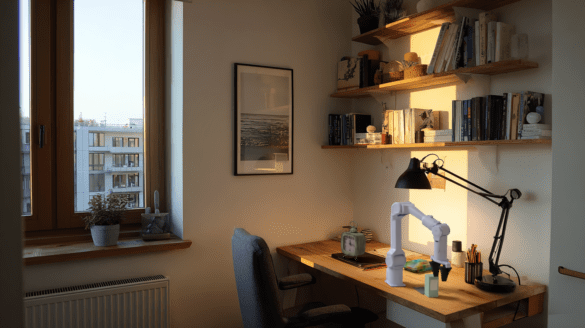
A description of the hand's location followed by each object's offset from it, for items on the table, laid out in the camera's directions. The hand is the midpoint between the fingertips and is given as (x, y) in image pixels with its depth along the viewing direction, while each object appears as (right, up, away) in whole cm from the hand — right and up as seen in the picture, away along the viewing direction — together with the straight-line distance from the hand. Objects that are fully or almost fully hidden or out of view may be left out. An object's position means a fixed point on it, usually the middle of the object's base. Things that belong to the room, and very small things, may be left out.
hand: (439, 279), depth 193 cm
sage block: (-1, -10, +8) cm, 13 cm away
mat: (-3, -10, +15) cm, 18 cm away
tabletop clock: (-29, -8, +74) cm, 80 cm away
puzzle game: (+6, -10, +54) cm, 55 cm away
